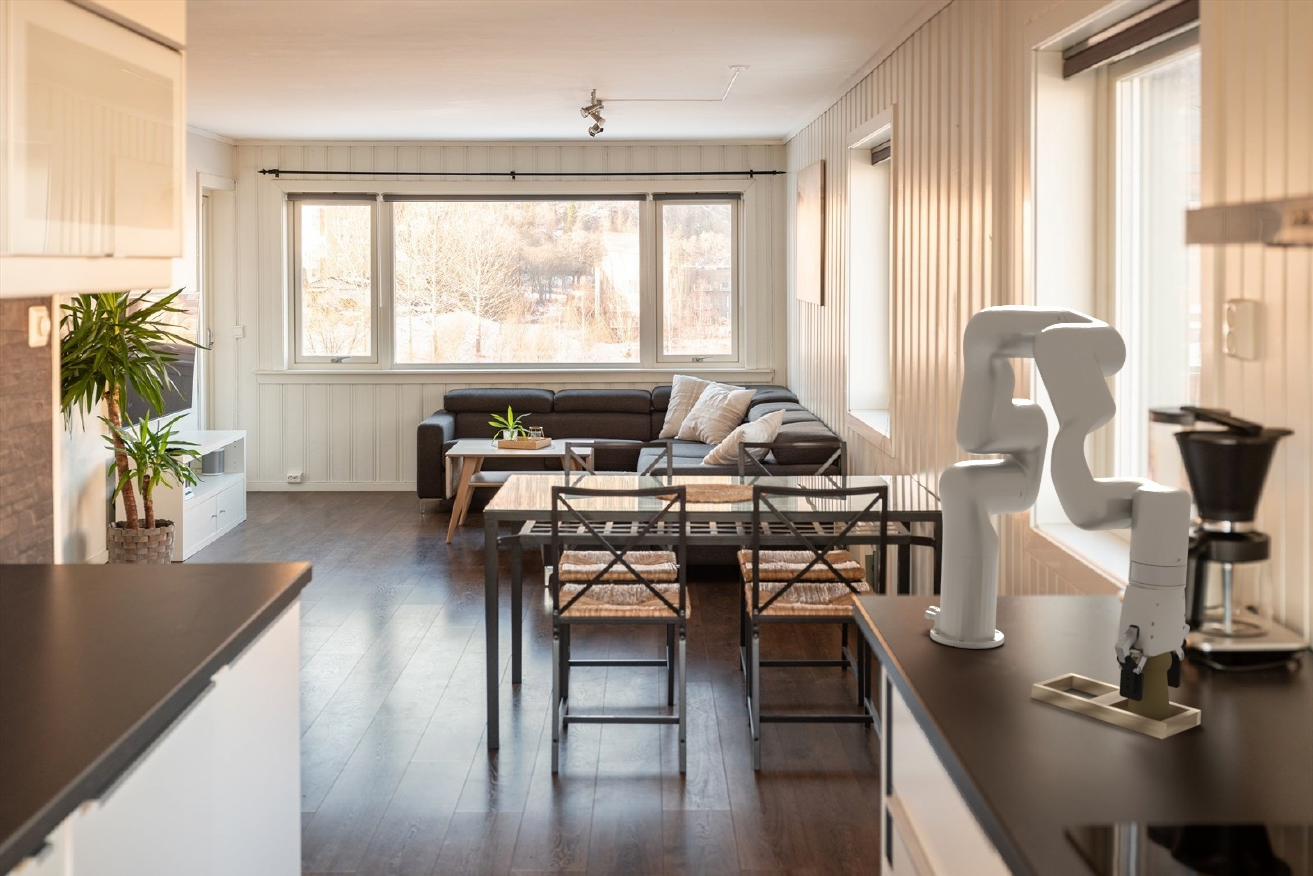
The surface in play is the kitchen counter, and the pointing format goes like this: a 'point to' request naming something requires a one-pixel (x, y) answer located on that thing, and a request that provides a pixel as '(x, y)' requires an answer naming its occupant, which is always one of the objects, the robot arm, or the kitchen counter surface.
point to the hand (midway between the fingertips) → (1150, 691)
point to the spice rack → (1112, 705)
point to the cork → (1153, 689)
